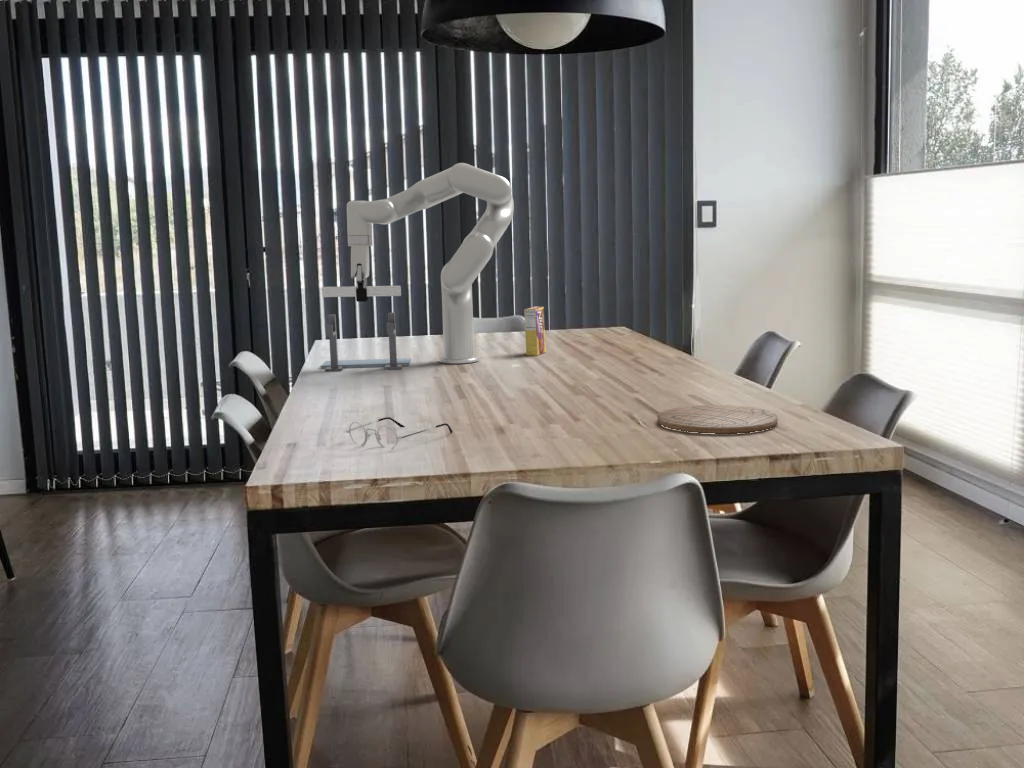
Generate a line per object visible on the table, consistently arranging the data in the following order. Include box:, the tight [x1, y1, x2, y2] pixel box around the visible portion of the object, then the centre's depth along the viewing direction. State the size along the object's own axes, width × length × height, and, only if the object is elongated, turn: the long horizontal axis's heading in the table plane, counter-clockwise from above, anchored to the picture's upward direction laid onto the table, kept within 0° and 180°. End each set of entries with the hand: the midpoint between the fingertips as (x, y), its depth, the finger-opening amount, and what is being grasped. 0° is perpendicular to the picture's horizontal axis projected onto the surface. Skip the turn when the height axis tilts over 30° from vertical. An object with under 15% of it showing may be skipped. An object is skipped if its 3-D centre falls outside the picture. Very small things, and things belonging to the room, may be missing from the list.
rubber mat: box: [320, 357, 412, 370], centre depth 321 cm, size 11×27×1 cm, turn 92°
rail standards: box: [324, 312, 403, 373], centre depth 309 cm, size 10×23×17 cm, turn 92°
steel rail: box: [321, 285, 402, 298], centre depth 317 cm, size 2×24×3 cm, turn 92°
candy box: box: [523, 306, 547, 357], centre depth 334 cm, size 9×4×15 cm, turn 160°
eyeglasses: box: [345, 416, 453, 449], centre depth 211 cm, size 16×19×5 cm
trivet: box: [656, 404, 778, 434], centre depth 217 cm, size 25×25×2 cm
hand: (362, 300), depth 318 cm, fingers closed on steel rail, 2 cm apart
